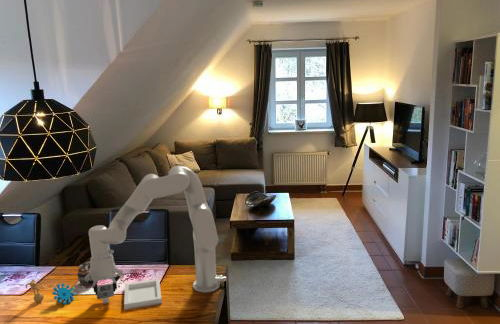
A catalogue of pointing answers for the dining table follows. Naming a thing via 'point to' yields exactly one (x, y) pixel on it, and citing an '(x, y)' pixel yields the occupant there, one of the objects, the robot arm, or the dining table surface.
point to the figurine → (38, 296)
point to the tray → (142, 294)
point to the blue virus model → (63, 293)
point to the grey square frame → (105, 291)
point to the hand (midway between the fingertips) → (105, 291)
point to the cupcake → (84, 274)
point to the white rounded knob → (105, 300)
